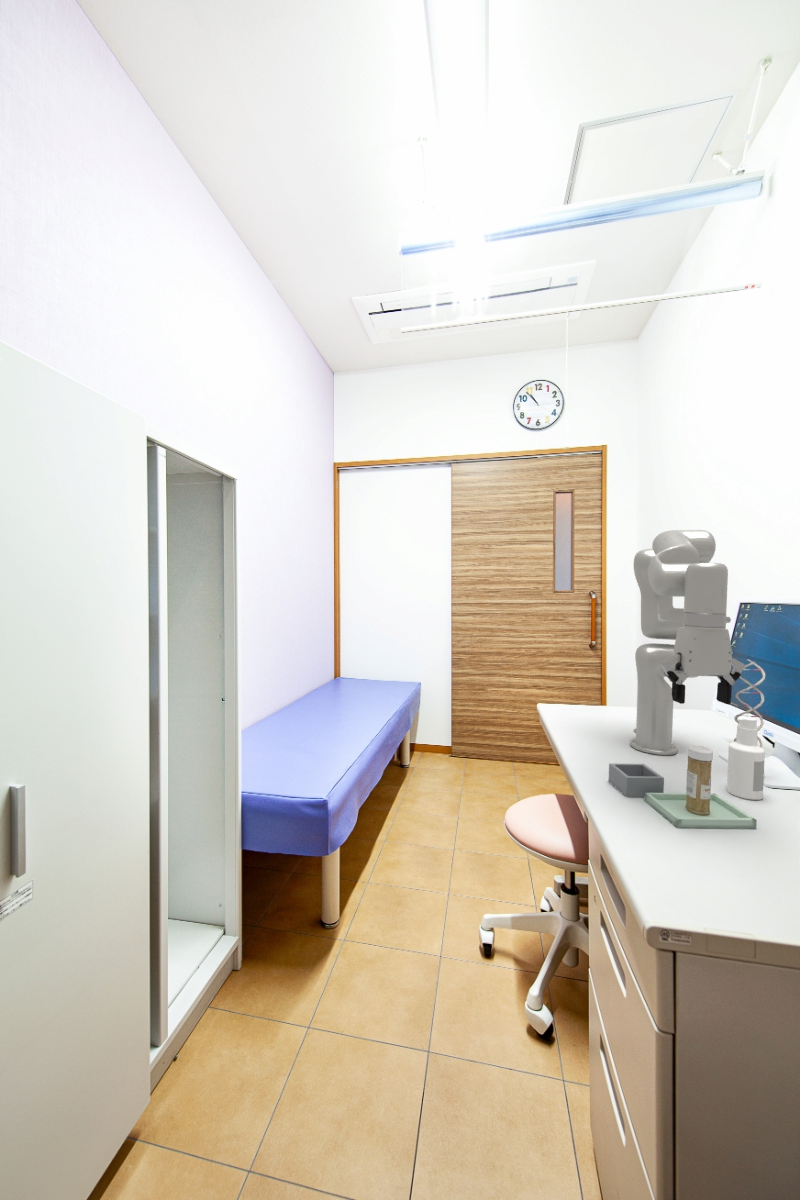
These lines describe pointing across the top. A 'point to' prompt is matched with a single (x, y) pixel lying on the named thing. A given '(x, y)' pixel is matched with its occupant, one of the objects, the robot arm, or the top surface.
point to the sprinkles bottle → (698, 779)
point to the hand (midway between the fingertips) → (701, 702)
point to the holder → (635, 779)
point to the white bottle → (746, 762)
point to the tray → (678, 815)
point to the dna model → (752, 693)
